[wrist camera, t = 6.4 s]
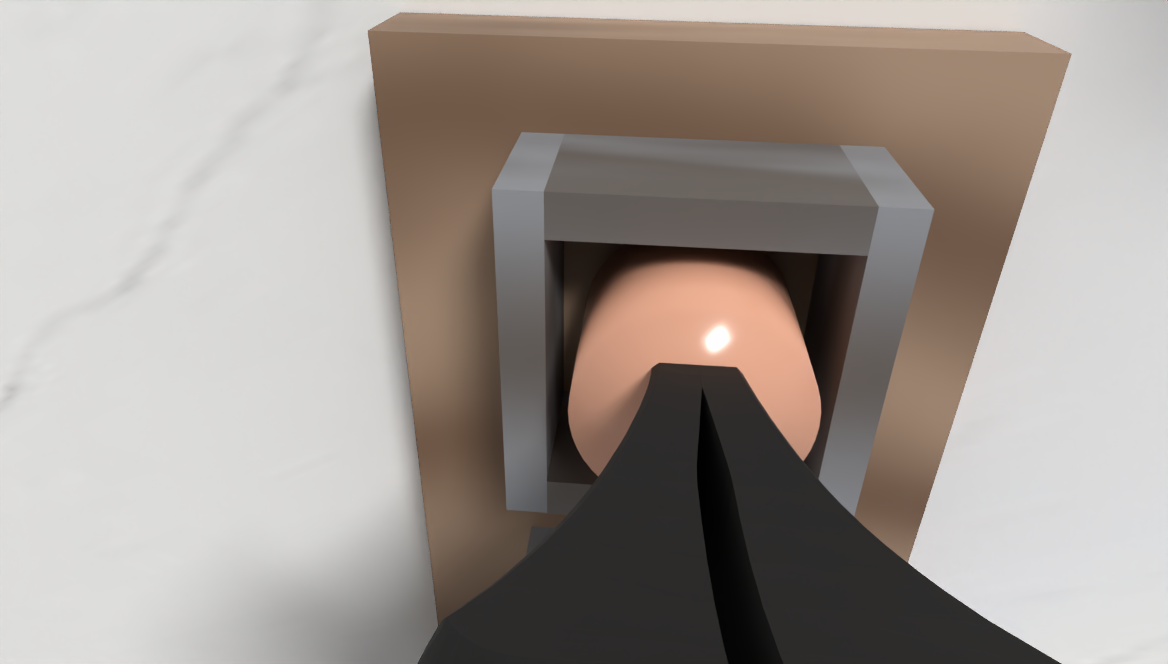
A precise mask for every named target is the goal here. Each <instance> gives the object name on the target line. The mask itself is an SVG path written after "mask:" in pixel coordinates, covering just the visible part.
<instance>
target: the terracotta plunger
mask: <svg viewBox="0 0 1168 664" xmlns="http://www.w3.org/2000/svg"><path fill="white" fill-rule="evenodd" d="M658 363H675V364H692V365H709V366H727V367H737V368H738V369H739V370H740V371H741V372H742V374H743V375H744V377H745V379H746V380H747V382H748V384H749V385H750V387H751V389H752V390H753V392H754V393H755V395H756V397H757V398H758V400H759V401H760V403H761V404H762V406H763V407H764V409H765V410H766V412H767V413H768V415H769V416H770V418H771V419H772V421H773V422H774V423H775V425H776V426H777V428H778V429H779V430H780V432H781V433H782V434H783V436H784V437H785V438H786V440H787V441H788V442H789V444H790V445H791V446H792V448H793V449H794V450H795V452H796V453H797V454H798V455H799V457H800V458H801V459H802V460H803V461H804V460H805V458H806V457H807V455H808V454H809V452H810V450H811V448H812V446H813V444H814V442H815V440H816V436H817V433H818V430H819V426H820V418H821V399H820V394H819V390H818V385H817V382H816V379H815V375H814V372H813V369H812V365H811V362H810V359H809V355H808V352H807V349H806V345H805V342H804V339H803V336H802V332H801V329H800V326H799V322H798V319H797V316H796V312H795V309H794V306H793V302H792V299H791V296H790V292H789V289H788V287H787V284H786V281H785V279H784V277H783V275H782V273H781V272H780V270H779V268H778V267H777V265H776V264H775V263H774V262H773V260H772V259H771V258H770V257H769V256H768V255H767V254H766V253H765V252H764V251H758V250H738V249H718V248H698V247H678V246H658V245H637V244H624V245H623V246H621V247H620V248H619V249H617V250H616V251H615V252H614V253H613V254H612V255H611V256H610V257H609V258H608V259H607V260H606V261H605V262H604V264H603V265H602V266H601V267H600V269H599V270H598V272H597V274H596V275H595V277H594V279H593V281H592V283H591V286H590V288H589V291H588V295H587V299H586V303H585V309H584V315H583V320H582V326H581V332H580V338H579V344H578V349H577V355H576V361H575V367H574V373H573V378H572V384H571V390H570V396H569V405H568V417H569V426H570V430H571V434H572V438H573V440H574V443H575V445H576V447H577V449H578V451H579V453H580V455H581V456H582V458H583V460H584V461H585V462H586V463H587V465H588V466H589V467H590V468H591V470H592V471H593V472H594V473H595V474H596V475H597V476H599V475H600V474H601V472H602V471H603V469H604V468H605V466H606V465H607V463H608V462H609V460H610V459H611V457H612V455H613V454H614V452H615V451H616V449H617V448H618V446H619V444H620V443H621V441H622V440H623V438H624V436H625V434H626V433H627V431H628V429H629V427H630V425H631V423H632V421H633V419H634V417H635V415H636V413H637V411H638V409H639V407H640V405H641V402H642V400H643V398H644V395H645V393H646V390H647V387H648V384H649V380H650V376H651V368H652V367H654V366H655V365H656V364H658Z"/></svg>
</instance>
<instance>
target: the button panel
mask: <svg viewBox="0 0 1168 664" xmlns="http://www.w3.org/2000/svg"><path fill="white" fill-rule="evenodd" d="M368 37H369V45H370V54H371V62H372V71H373V79H374V87H375V96H376V104H377V113H378V121H379V130H380V138H381V146H382V155H383V163H384V172H385V180H386V189H387V197H388V205H389V214H390V222H391V231H392V239H393V248H394V256H395V264H396V273H397V281H398V290H399V298H400V306H401V315H402V323H403V332H404V340H405V349H406V357H407V365H408V374H409V382H410V391H411V399H412V408H413V416H414V424H415V433H416V441H417V450H418V458H419V467H420V475H421V483H422V492H423V500H424V509H425V517H426V526H427V534H428V542H429V551H430V559H431V568H432V576H433V584H434V593H435V601H436V610H437V618H438V626H439V625H440V623H441V621H442V620H443V619H444V618H446V617H447V616H449V615H450V614H452V613H453V612H454V611H456V610H457V609H459V608H460V607H461V606H463V605H464V604H466V603H467V602H468V601H470V600H471V599H473V598H474V597H476V596H477V595H478V594H480V593H481V592H483V591H484V590H485V589H487V588H488V587H490V586H491V585H492V584H493V583H495V582H496V581H497V580H499V579H500V578H501V577H502V576H503V575H505V574H506V573H507V572H508V571H509V570H510V569H512V568H513V567H514V566H515V565H516V564H517V563H518V562H520V561H521V560H522V559H523V558H524V557H525V556H526V555H528V554H529V553H530V552H531V551H532V550H533V549H534V548H536V547H537V546H538V545H539V544H540V543H541V542H542V541H543V540H544V539H545V538H546V537H547V536H548V535H549V534H550V533H551V532H552V531H553V530H554V529H555V528H556V527H557V526H558V524H559V523H560V522H561V521H562V520H563V519H564V518H565V517H566V516H567V515H568V514H569V512H570V511H571V510H572V509H573V508H574V507H575V506H576V505H577V503H578V502H579V501H580V500H581V498H582V497H583V496H584V495H585V493H586V492H587V491H588V490H589V488H590V487H591V486H592V485H593V483H594V482H595V481H596V479H597V478H598V476H597V475H596V474H595V473H594V472H593V471H592V470H591V468H590V467H589V466H588V465H587V463H586V462H585V461H584V460H583V458H582V456H581V455H580V453H579V451H578V449H577V447H576V445H575V443H574V440H573V438H572V434H571V430H570V426H569V417H568V405H569V396H570V390H571V384H572V378H573V373H574V367H575V361H576V355H577V349H578V344H579V338H580V332H581V326H582V320H583V315H584V309H585V303H586V299H587V295H588V291H589V288H590V286H591V283H592V281H593V279H594V277H595V275H596V274H597V272H598V270H599V269H600V267H601V266H602V265H603V264H604V262H605V261H606V260H607V259H608V258H609V257H610V256H611V255H612V254H613V253H614V252H615V251H616V250H617V249H619V248H620V247H621V246H623V245H624V244H637V245H658V246H678V247H698V248H718V249H738V250H758V251H764V252H765V253H766V254H767V255H768V256H769V257H770V258H771V259H772V260H773V262H774V263H775V264H776V265H777V267H778V268H779V270H780V272H781V273H782V275H783V277H784V279H785V281H786V284H787V287H788V289H789V292H790V296H791V299H792V302H793V306H794V309H795V312H796V316H797V319H798V322H799V326H800V329H801V332H802V336H803V339H804V342H805V345H806V349H807V352H808V355H809V359H810V362H811V365H812V369H813V372H814V375H815V379H816V382H817V385H818V390H819V394H820V399H821V418H820V426H819V430H818V433H817V436H816V440H815V442H814V444H813V446H812V448H811V450H810V452H809V454H808V455H807V457H806V458H805V460H804V461H803V462H804V463H805V464H806V465H807V467H808V468H809V469H810V470H811V471H812V472H813V474H814V475H815V476H816V477H817V478H818V479H819V480H820V482H821V483H822V484H823V485H824V486H825V487H826V488H827V490H828V491H829V492H830V493H831V494H832V495H833V496H834V497H835V498H836V499H837V500H838V501H839V502H840V503H841V504H842V505H843V506H844V507H845V508H846V509H847V510H848V511H849V512H850V513H851V514H852V515H853V516H854V517H855V518H856V519H857V520H858V521H859V522H860V523H861V524H862V525H863V526H864V527H865V528H867V529H868V530H869V531H870V532H871V533H872V534H873V535H875V536H876V537H877V538H878V539H879V540H880V541H881V542H883V543H884V544H885V545H886V546H887V547H889V548H890V549H891V550H892V551H894V552H895V553H896V554H897V555H898V556H900V557H901V558H902V559H903V560H905V561H906V562H907V563H908V560H909V557H910V554H911V551H912V548H913V545H914V542H915V539H916V535H917V532H918V529H919V526H920V523H921V520H922V517H923V514H924V511H925V507H926V504H927V501H928V498H929V495H930V492H931V489H932V486H933V483H934V480H935V476H936V473H937V470H938V467H939V464H940V461H941V458H942V455H943V452H944V448H945V445H946V442H947V439H948V436H949V433H950V430H951V427H952V424H953V420H954V417H955V414H956V411H957V408H958V405H959V402H960V399H961V396H962V393H963V389H964V386H965V383H966V380H967V377H968V374H969V371H970V368H971V365H972V361H973V358H974V355H975V352H976V349H977V346H978V343H979V340H980V337H981V333H982V330H983V327H984V324H985V321H986V318H987V315H988V312H989V309H990V305H991V302H992V299H993V296H994V293H995V290H996V287H997V284H998V281H999V278H1000V274H1001V271H1002V268H1003V265H1004V262H1005V259H1006V256H1007V253H1008V250H1009V246H1010V243H1011V240H1012V237H1013V234H1014V231H1015V228H1016V225H1017V222H1018V218H1019V215H1020V212H1021V209H1022V206H1023V203H1024V200H1025V197H1026V194H1027V190H1028V187H1029V184H1030V181H1031V178H1032V175H1033V172H1034V169H1035V166H1036V163H1037V159H1038V156H1039V153H1040V150H1041V147H1042V144H1043V141H1044V138H1045V135H1046V131H1047V128H1048V125H1049V122H1050V119H1051V116H1052V113H1053V110H1054V107H1055V103H1056V100H1057V97H1058V94H1059V91H1060V88H1061V85H1062V82H1063V79H1064V75H1065V72H1066V69H1067V66H1068V63H1069V60H1070V57H1071V53H1068V52H1066V51H1064V50H1062V49H1060V48H1057V47H1055V46H1053V45H1051V44H1049V43H1047V42H1044V41H1042V40H1040V39H1038V38H1036V37H1033V36H1031V35H1029V34H1027V33H1025V32H1004V31H972V30H940V29H908V28H876V27H844V26H812V25H780V24H748V23H716V22H684V21H652V20H620V19H588V18H556V17H524V16H492V15H461V14H429V13H398V14H397V15H395V16H393V17H391V18H390V19H388V20H386V21H384V22H382V23H381V24H379V25H377V26H375V27H374V28H372V29H370V30H368Z"/></svg>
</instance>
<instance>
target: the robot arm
mask: <svg viewBox="0 0 1168 664" xmlns="http://www.w3.org/2000/svg"><path fill="white" fill-rule="evenodd" d="M418 664H1061V663H1059V662H1058V661H1056V660H1054V659H1052V658H1051V657H1049V656H1047V655H1046V654H1044V653H1042V652H1041V651H1039V650H1037V649H1036V648H1034V647H1032V646H1030V645H1029V644H1027V643H1025V642H1024V641H1022V640H1020V639H1019V638H1017V637H1015V636H1013V635H1012V634H1010V633H1008V632H1007V631H1005V630H1003V629H1002V628H1000V627H998V626H997V625H995V624H993V623H992V622H990V621H988V620H987V619H985V618H984V617H982V616H981V615H979V614H978V613H976V612H975V611H973V610H972V609H970V608H969V607H968V606H966V605H965V604H963V603H962V602H960V601H959V600H957V599H956V598H954V597H953V596H951V595H950V594H948V593H947V592H945V591H944V590H943V589H941V588H940V587H939V586H937V585H936V584H935V583H933V582H932V581H930V580H929V579H928V578H926V577H925V576H924V575H922V574H921V573H920V572H918V571H917V570H916V569H915V568H913V567H912V566H911V565H910V564H908V563H907V562H906V561H905V560H903V559H902V558H901V557H900V556H898V555H897V554H896V553H895V552H894V551H892V550H891V549H890V548H889V547H887V546H886V545H885V544H884V543H883V542H881V541H880V540H879V539H878V538H877V537H876V536H875V535H873V534H872V533H871V532H870V531H869V530H868V529H867V528H865V527H864V526H863V525H862V524H861V523H860V522H859V521H858V520H857V519H856V518H855V517H854V516H853V515H852V514H851V513H850V512H849V511H848V510H847V509H846V508H845V507H844V506H843V505H842V504H841V503H840V502H839V501H838V500H837V499H836V498H835V497H834V496H833V495H832V494H831V493H830V492H829V491H828V490H827V488H826V487H825V486H824V485H823V484H822V483H821V482H820V480H819V479H818V478H817V477H816V476H815V475H814V474H813V472H812V471H811V470H810V469H809V468H808V467H807V465H806V464H805V463H804V462H803V460H802V459H801V458H800V457H799V455H798V454H797V453H796V452H795V450H794V449H793V448H792V446H791V445H790V444H789V442H788V441H787V440H786V438H785V437H784V436H783V434H782V433H781V432H780V430H779V429H778V428H777V426H776V425H775V423H774V422H773V421H772V419H771V418H770V416H769V415H768V413H767V412H766V410H765V409H764V407H763V406H762V404H761V403H760V401H759V400H758V398H757V397H756V395H755V393H754V392H753V390H752V389H751V387H750V385H749V384H748V382H747V380H746V379H745V377H744V375H743V374H742V372H741V371H740V370H739V369H738V368H737V367H727V366H709V365H692V364H675V363H658V364H656V365H655V366H654V367H652V368H651V376H650V380H649V384H648V387H647V390H646V393H645V395H644V398H643V400H642V402H641V405H640V407H639V409H638V411H637V413H636V415H635V417H634V419H633V421H632V423H631V425H630V427H629V429H628V431H627V433H626V434H625V436H624V438H623V440H622V441H621V443H620V444H619V446H618V448H617V449H616V451H615V452H614V454H613V455H612V457H611V459H610V460H609V462H608V463H607V465H606V466H605V468H604V469H603V471H602V472H601V474H600V475H599V476H598V478H597V479H596V481H595V482H594V483H593V485H592V486H591V487H590V488H589V490H588V491H587V492H586V493H585V495H584V496H583V497H582V498H581V500H580V501H579V502H578V503H577V505H576V506H575V507H574V508H573V509H572V510H571V511H570V512H569V514H568V515H567V516H566V517H565V518H564V519H563V520H562V521H561V522H560V523H559V524H558V526H557V527H556V528H555V529H554V530H553V531H552V532H551V533H550V534H549V535H548V536H547V537H546V538H545V539H544V540H543V541H542V542H541V543H540V544H539V545H538V546H537V547H536V548H534V549H533V550H532V551H531V552H530V553H529V554H528V555H526V556H525V557H524V558H523V559H522V560H521V561H520V562H518V563H517V564H516V565H515V566H514V567H513V568H512V569H510V570H509V571H508V572H507V573H506V574H505V575H503V576H502V577H501V578H500V579H499V580H497V581H496V582H495V583H493V584H492V585H491V586H490V587H488V588H487V589H485V590H484V591H483V592H481V593H480V594H478V595H477V596H476V597H474V598H473V599H471V600H470V601H468V602H467V603H466V604H464V605H463V606H461V607H460V608H459V609H457V610H456V611H454V612H453V613H452V614H450V615H449V616H447V617H446V618H444V619H443V620H442V621H441V623H440V625H439V626H438V628H437V630H436V631H435V633H434V635H433V636H432V638H431V640H430V642H429V643H428V645H427V647H426V649H425V651H424V652H423V654H422V656H421V658H420V660H419V662H418Z"/></svg>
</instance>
